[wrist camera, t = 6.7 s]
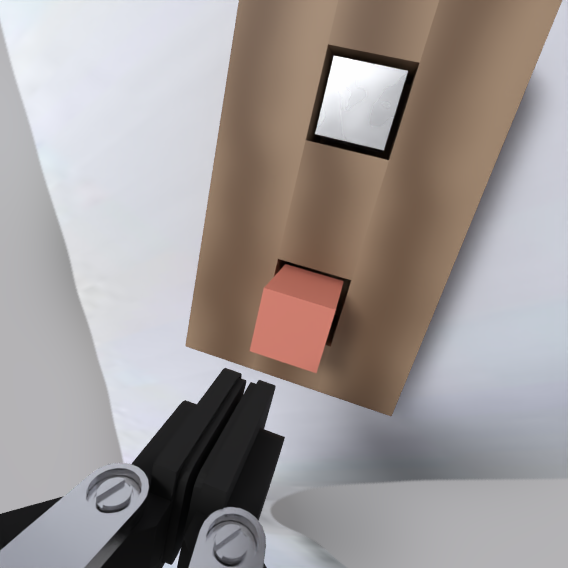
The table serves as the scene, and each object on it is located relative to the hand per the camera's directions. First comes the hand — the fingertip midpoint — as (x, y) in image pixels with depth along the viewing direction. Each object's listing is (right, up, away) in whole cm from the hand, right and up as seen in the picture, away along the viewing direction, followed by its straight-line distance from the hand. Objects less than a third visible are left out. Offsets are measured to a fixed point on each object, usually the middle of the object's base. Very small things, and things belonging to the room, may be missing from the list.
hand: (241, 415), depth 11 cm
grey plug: (+6, +14, +11) cm, 19 cm away
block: (+5, +10, +14) cm, 18 cm away
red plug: (+3, +3, +11) cm, 12 cm away
